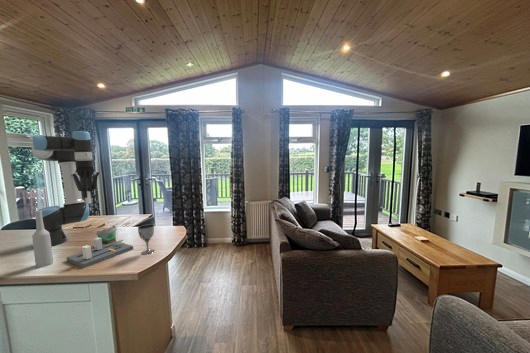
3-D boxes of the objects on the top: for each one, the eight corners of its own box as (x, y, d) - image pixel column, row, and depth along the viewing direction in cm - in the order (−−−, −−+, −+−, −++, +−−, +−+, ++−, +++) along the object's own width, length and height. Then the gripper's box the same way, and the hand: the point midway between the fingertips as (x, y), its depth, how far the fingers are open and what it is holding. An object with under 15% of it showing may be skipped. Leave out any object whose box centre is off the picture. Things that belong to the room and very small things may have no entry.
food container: (106, 248, 139) (104, 231, 138) (97, 247, 140) (96, 231, 139) (122, 240, 151) (121, 225, 150) (114, 240, 152) (113, 225, 151)
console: (66, 260, 123) (65, 253, 122) (115, 244, 144) (115, 237, 144) (84, 268, 114) (83, 259, 114) (133, 249, 136) (132, 242, 135)
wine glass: (143, 249, 135) (141, 224, 133) (157, 248, 135) (156, 223, 134) (137, 255, 127) (135, 229, 125) (152, 254, 127) (150, 228, 126)
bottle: (43, 267, 116) (36, 212, 113) (32, 267, 117) (25, 212, 114) (56, 261, 122) (50, 209, 119) (46, 261, 123) (40, 209, 120)
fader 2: (94, 249, 131) (93, 238, 131) (99, 247, 133) (98, 237, 133) (97, 250, 129) (96, 239, 129) (102, 248, 132) (101, 238, 131)
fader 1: (83, 258, 119) (81, 246, 119) (88, 256, 122) (87, 245, 121) (86, 259, 118) (85, 248, 117) (92, 257, 120) (90, 246, 119)
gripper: (73, 160, 118) (78, 206, 120) (101, 159, 129) (105, 201, 131) (66, 160, 121) (71, 205, 123) (93, 160, 133) (97, 200, 135)
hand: (88, 203), depth 127 cm, fingers closed
